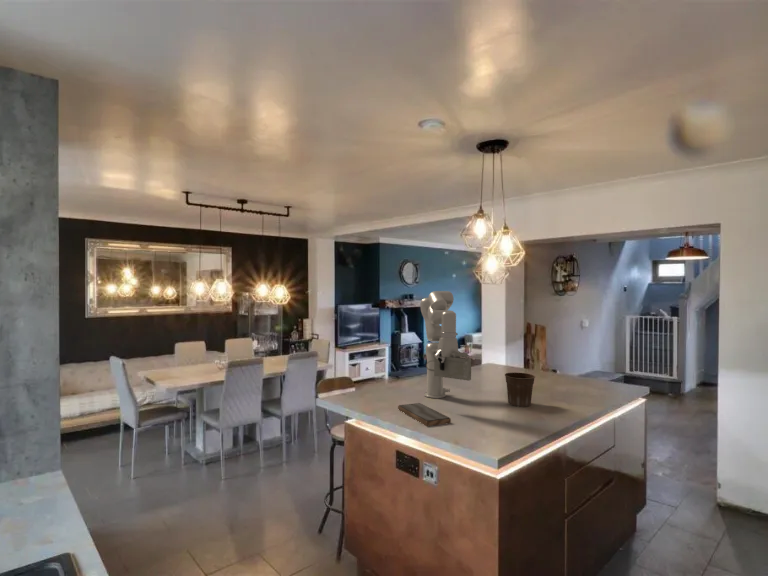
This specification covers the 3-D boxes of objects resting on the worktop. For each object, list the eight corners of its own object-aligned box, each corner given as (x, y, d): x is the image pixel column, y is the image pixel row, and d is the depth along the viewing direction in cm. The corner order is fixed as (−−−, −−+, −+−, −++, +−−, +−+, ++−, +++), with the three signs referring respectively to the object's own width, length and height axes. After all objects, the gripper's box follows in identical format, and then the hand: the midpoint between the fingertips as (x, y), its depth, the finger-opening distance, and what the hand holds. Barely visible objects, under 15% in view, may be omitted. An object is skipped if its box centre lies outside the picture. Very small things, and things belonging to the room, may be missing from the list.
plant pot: (536, 409, 233) (537, 378, 233) (505, 407, 237) (505, 377, 237) (532, 401, 249) (533, 373, 249) (503, 399, 252) (503, 371, 253)
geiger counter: (472, 352, 225) (428, 347, 238) (468, 353, 219) (423, 349, 233) (472, 379, 225) (428, 373, 238) (467, 381, 220) (423, 375, 233)
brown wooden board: (419, 407, 234) (420, 402, 234) (450, 423, 207) (450, 417, 207) (398, 409, 229) (398, 405, 229) (426, 426, 202) (426, 420, 202)
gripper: (458, 333, 236) (458, 367, 236) (430, 335, 229) (430, 369, 229) (466, 335, 229) (466, 369, 229) (437, 336, 222) (437, 372, 222)
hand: (448, 369), depth 229 cm, fingers closed on geiger counter, 6 cm apart
